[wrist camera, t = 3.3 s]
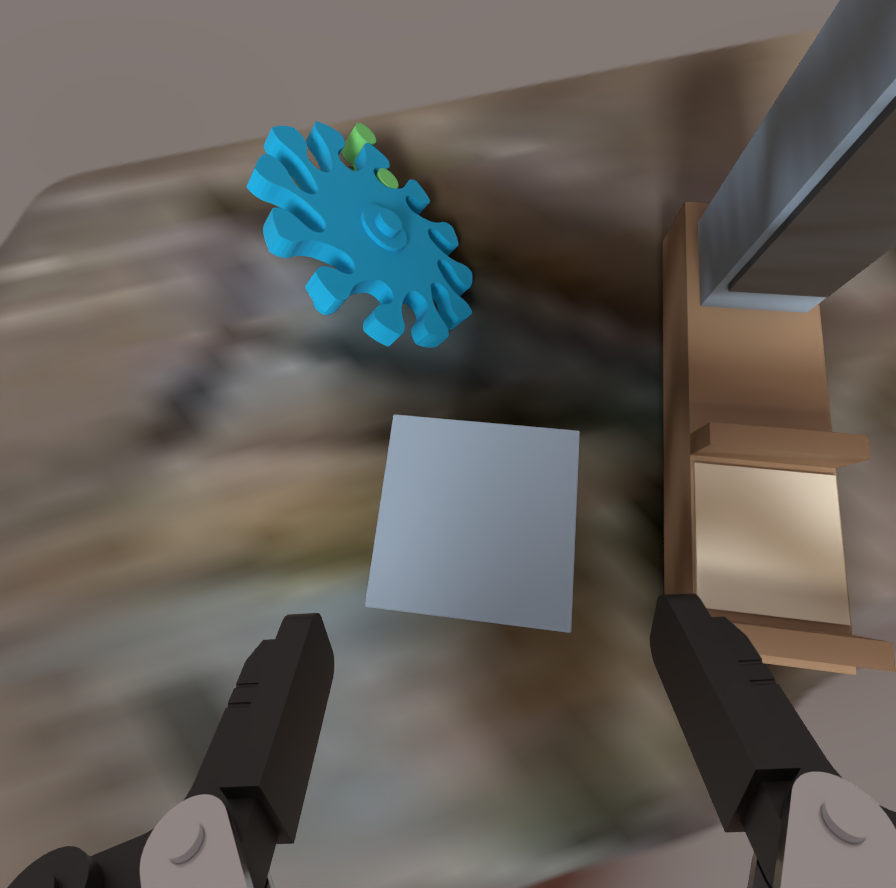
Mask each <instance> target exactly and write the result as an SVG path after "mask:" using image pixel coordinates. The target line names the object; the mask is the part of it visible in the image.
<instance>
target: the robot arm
mask: <svg viewBox="0 0 896 888" xmlns="http://www.w3.org/2000/svg"><path fill="white" fill-rule="evenodd" d="M650 647H651V653H652V657H653V661H654V664H655V666H656V669H657V671H658V674H659V676H660V678H661V681H662V683H663V685H664V688H665V690H666V693H667V695H668V697H669V700H670V702H671V704H672V707H673V709H674V712H675V714H676V716H677V719H678V721H679V724H680V726H681V728H682V731H683V733H684V735H685V738H686V740H687V743H688V745H689V747H690V750H691V752H692V754H693V757H694V759H695V762H696V764H697V766H698V769H699V771H700V774H701V776H702V778H703V781H704V783H705V785H706V788H707V790H708V793H709V795H710V797H711V800H712V802H713V804H714V807H715V809H716V812H717V814H718V816H719V819H720V821H721V823H722V826H723V828H724V831H725V832H746V835H747V837H748V839H749V841H750V843H751V846H752V848H753V850H754V854H753V857H752V863H751V870H750V875H749V881H748V887H747V888H896V812H894V811H891V810H888V809H886V808H884V807H882V806H880V805H878V804H877V803H876V802H875V801H874V800H873V799H872V798H871V797H870V796H868V795H867V794H866V793H865V792H864V791H862V790H861V789H860V788H858V787H857V786H855V785H853V784H852V783H850V782H849V781H847V780H845V779H843V778H842V777H841V776H840V775H839V774H838V773H837V771H836V770H835V769H834V768H833V767H832V765H831V764H830V763H829V761H828V760H827V759H826V757H825V755H824V754H823V752H822V751H821V749H820V748H819V746H818V745H817V743H816V741H815V740H814V738H813V737H812V735H811V734H810V732H809V731H808V730H807V728H806V726H805V724H804V723H803V721H802V720H801V718H800V717H799V715H798V714H797V712H796V711H795V709H794V707H793V706H792V704H791V703H790V701H789V700H788V698H787V697H786V695H785V694H784V692H783V691H782V689H781V687H780V686H779V684H776V682H775V678H774V677H773V675H772V674H771V672H770V671H769V669H768V667H767V666H766V664H763V662H762V658H761V657H760V655H759V654H758V652H757V650H756V649H755V647H754V646H753V644H752V643H751V641H750V640H749V638H748V637H747V635H745V634H744V633H743V632H742V631H741V630H740V629H738V628H737V627H736V626H735V625H734V624H733V623H732V622H730V621H729V620H728V619H727V618H726V617H725V616H723V617H711V615H710V614H709V612H708V610H707V609H706V607H705V605H704V604H703V602H702V600H701V599H700V598H699V596H698V595H696V594H695V593H684V594H667V595H660V596H659V597H658V600H657V605H656V610H655V615H654V620H653V625H652V630H651V635H650ZM333 674H334V655H333V650H332V647H331V644H330V641H329V638H328V635H327V632H326V630H325V627H324V624H323V621H322V618H321V616H320V614H319V613H309V614H291V615H287V616H285V618H284V619H283V621H282V623H281V626H280V628H279V631H278V634H277V636H276V639H271V640H263V641H262V642H261V643H260V644H259V646H258V647H257V648H256V649H255V650H254V652H253V653H252V654H251V655H250V656H249V658H248V659H247V660H246V662H245V664H244V667H243V669H242V671H241V674H240V676H239V678H238V681H237V683H236V688H234V690H233V692H232V695H231V697H230V699H229V702H228V707H227V708H226V709H225V711H224V714H223V716H222V718H221V721H220V723H219V725H218V728H217V730H216V732H215V735H214V737H213V739H212V742H211V744H210V746H209V749H208V751H207V753H206V756H205V758H204V760H203V763H202V765H201V767H200V770H199V772H198V774H197V777H196V779H195V782H194V784H193V786H192V788H191V790H190V791H189V793H188V794H187V796H186V798H185V799H184V800H183V801H182V802H181V803H179V804H178V805H176V806H175V807H174V808H172V809H171V810H170V811H169V812H168V813H167V814H166V815H165V816H164V817H163V818H162V819H161V820H160V821H159V823H158V824H157V825H156V827H155V828H154V829H152V830H151V831H149V832H147V833H145V834H143V835H141V836H139V837H136V838H134V839H131V840H129V841H127V842H124V843H122V844H119V845H117V846H114V847H112V848H110V849H107V850H105V851H102V852H100V853H97V854H95V855H93V856H89V855H87V854H86V853H85V852H84V851H83V850H81V849H80V848H77V847H73V846H67V847H62V848H58V849H56V850H53V851H51V852H49V853H47V854H45V855H43V856H42V857H40V858H39V859H37V860H36V861H34V862H33V863H32V864H31V865H29V866H28V867H27V868H26V869H25V870H24V871H22V872H21V873H20V874H19V875H18V876H17V877H16V878H15V880H14V881H13V882H12V883H11V884H10V885H9V886H8V888H275V886H274V883H273V880H272V876H271V873H270V871H269V869H270V865H271V861H272V857H273V853H274V850H275V846H276V844H292V843H294V840H295V836H296V832H297V828H298V824H299V819H300V815H301V811H302V807H303V802H304V798H305V794H306V790H307V786H308V781H309V777H310V773H311V769H312V764H313V760H314V756H315V752H316V748H317V743H318V739H319V735H320V731H321V727H322V722H323V718H324V714H325V710H326V705H327V701H328V697H329V693H330V689H331V684H332V680H333Z"/></svg>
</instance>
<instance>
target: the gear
mask: <svg viewBox="0 0 896 888" xmlns="http://www.w3.org/2000/svg"><path fill="white" fill-rule="evenodd" d="M306 143H307V146H308V148H309V150H310V151H311V152H312V154H313V155H314V157H315V158H316V160H317V162H318V164H319V166H320V169H321V170H319V169H317V168H316V167H315V166H314V165H313V164H312V163H311V162H310V161H309V159H308V157H307V146H306ZM375 143H376V138H375V136H374V134H373V133H372V131H371V130H370V129H369V128H368V127H366V126H365V125H363V124H361V123H357V124H356V125H355V127H354V128H353V130H352V132H351V133H350V135H349V137H348V138H347V140H346V142H345V141H344V139H343V137H342V135H341V134H340V133H339V132H338V131H336V130H335V129H333V128H331V127H329V126H327V125H325V124H322V123H320V122H317V121H316V122H315V124H314V126H313V128H312V130H311V132H310V134H309V136H308V138H307V140H306V142H305V140H304V138H303V137H302V135H301V134H300V133H299V132H298V131H297V130H296V129H295V128H292V127H288V126H277V127H272V129H271V131H270V133H269V135H268V138H267V140H266V142H265V144H264V149H265V151H266V154H264V155H262V156H261V157H260V158H259V160H258V162H257V164H256V166H255V168H254V170H253V172H252V175H251V177H250V179H249V181H248V184H247V188H248V189H249V191H250V192H251V193H253V194H254V195H255V196H256V197H258V198H259V199H261V200H263V201H266V202H269V203H272V204H274V205H276V206H279V207H281V208H282V209H281V208H273V209H272V211H271V213H270V214H269V216H268V218H267V220H266V222H265V224H264V228H263V233H264V238H265V241H266V244H267V247H268V249H269V252H271V253H272V254H274V255H276V256H279V257H283V258H289V257H293V256H308V257H312V258H316V259H318V260H321V261H323V262H325V263H328V264H330V265H332V266H334V267H335V268H336V269H333V268H331V267H326V266H322V267H319V268H318V269H317V270H316V271H315V273H314V274H313V276H312V277H311V278H310V280H309V281H308V283H307V284H306V286H305V288H306V290H307V292H308V293H309V295H310V296H311V298H312V299H313V304H314V307H315V308H316V310H317V311H319V312H320V313H322V314H324V315H330V314H331V313H334V312H336V311H337V310H338V309H339V307H340V306H341V305H342V304H343V303H344V301H345V300H346V299H347V298H348V297H349V295H351V294H356V293H369V294H371V295H373V296H374V297H375V298H376V299H377V300H378V301H379V302H380V304H381V305H379V306H377V307H376V308H375V309H374V310H373V311H372V313H371V314H370V315H369V316H368V317H367V318H366V319H365V320H364V322H363V330H364V331H365V332H366V333H367V334H368V335H369V336H370V337H372V338H373V339H375V340H376V341H378V342H380V343H382V344H384V345H386V346H390V345H391V344H392V343H393V342H394V341H395V340H396V339H398V338H399V337H400V336H401V335H402V334H403V332H404V330H405V324H404V321H403V317H402V303H405V304H407V305H408V306H410V307H411V308H412V310H413V311H414V313H415V315H416V322H415V323H414V325H413V327H412V329H411V335H412V338H413V340H414V342H415V343H416V344H417V345H420V346H423V347H429V348H432V347H437V346H438V345H440V344H441V343H442V342H443V341H444V340H446V339H447V338H448V337H449V331H448V330H452V329H454V328H456V327H457V326H458V325H459V324H460V323H462V322H463V321H464V320H465V319H466V318H468V317H469V316H470V315H471V314H472V310H471V308H470V307H469V305H468V304H467V303H466V302H465V301H464V300H463V299H462V298H461V297H460V296H461V295H462V294H463V293H464V292H465V291H466V290H468V289H469V288H470V286H471V285H472V272H471V271H470V269H469V268H468V267H466V266H465V265H463V264H461V263H458V262H456V261H454V260H453V259H451V258H450V257H448V255H449V254H450V253H451V252H452V251H453V250H454V249H455V248H456V247H457V246H458V240H457V236H456V234H455V232H454V229H453V227H452V226H451V225H450V224H448V223H446V222H440V223H435V222H431V221H428V220H426V219H424V218H422V217H421V216H419V214H420V213H421V212H422V211H423V210H424V208H425V207H426V206H427V205H428V204H429V203H430V200H429V198H428V196H427V194H426V193H425V191H424V190H423V189H422V187H421V186H420V185H419V184H418V182H417V181H415V180H412V179H411V180H409V181H408V182H407V183H406V185H405V186H404V187H403V188H401V189H397V188H398V181H397V179H396V178H395V176H394V175H393V174H392V173H391V172H390V171H388V170H387V169H388V168H389V166H390V163H389V160H388V159H387V158H386V157H385V156H384V155H383V154H382V153H381V152H380V151H378V150H377V149H376V148H375V147H373V146H374V144H375ZM341 152H342V154H343V156H344V158H345V159H346V160H347V161H348V162H349V163H350V164H352V166H353V167H351V166H348V167H346V166H345V165H344V164H343V163H342V162H341V160H340V158H339V154H340V153H341ZM290 176H291V177H292V178H293V179H294V180H295V182H296V183H297V184H298V186H299V187H300V188H298V187H297V186H296V185H295V183H294V182H293V180H292V179H291V177H290ZM432 298H433V299H434V300H435V302H436V304H437V307H438V312H437V310H436V308H435V305H434V302H433V299H432Z"/></svg>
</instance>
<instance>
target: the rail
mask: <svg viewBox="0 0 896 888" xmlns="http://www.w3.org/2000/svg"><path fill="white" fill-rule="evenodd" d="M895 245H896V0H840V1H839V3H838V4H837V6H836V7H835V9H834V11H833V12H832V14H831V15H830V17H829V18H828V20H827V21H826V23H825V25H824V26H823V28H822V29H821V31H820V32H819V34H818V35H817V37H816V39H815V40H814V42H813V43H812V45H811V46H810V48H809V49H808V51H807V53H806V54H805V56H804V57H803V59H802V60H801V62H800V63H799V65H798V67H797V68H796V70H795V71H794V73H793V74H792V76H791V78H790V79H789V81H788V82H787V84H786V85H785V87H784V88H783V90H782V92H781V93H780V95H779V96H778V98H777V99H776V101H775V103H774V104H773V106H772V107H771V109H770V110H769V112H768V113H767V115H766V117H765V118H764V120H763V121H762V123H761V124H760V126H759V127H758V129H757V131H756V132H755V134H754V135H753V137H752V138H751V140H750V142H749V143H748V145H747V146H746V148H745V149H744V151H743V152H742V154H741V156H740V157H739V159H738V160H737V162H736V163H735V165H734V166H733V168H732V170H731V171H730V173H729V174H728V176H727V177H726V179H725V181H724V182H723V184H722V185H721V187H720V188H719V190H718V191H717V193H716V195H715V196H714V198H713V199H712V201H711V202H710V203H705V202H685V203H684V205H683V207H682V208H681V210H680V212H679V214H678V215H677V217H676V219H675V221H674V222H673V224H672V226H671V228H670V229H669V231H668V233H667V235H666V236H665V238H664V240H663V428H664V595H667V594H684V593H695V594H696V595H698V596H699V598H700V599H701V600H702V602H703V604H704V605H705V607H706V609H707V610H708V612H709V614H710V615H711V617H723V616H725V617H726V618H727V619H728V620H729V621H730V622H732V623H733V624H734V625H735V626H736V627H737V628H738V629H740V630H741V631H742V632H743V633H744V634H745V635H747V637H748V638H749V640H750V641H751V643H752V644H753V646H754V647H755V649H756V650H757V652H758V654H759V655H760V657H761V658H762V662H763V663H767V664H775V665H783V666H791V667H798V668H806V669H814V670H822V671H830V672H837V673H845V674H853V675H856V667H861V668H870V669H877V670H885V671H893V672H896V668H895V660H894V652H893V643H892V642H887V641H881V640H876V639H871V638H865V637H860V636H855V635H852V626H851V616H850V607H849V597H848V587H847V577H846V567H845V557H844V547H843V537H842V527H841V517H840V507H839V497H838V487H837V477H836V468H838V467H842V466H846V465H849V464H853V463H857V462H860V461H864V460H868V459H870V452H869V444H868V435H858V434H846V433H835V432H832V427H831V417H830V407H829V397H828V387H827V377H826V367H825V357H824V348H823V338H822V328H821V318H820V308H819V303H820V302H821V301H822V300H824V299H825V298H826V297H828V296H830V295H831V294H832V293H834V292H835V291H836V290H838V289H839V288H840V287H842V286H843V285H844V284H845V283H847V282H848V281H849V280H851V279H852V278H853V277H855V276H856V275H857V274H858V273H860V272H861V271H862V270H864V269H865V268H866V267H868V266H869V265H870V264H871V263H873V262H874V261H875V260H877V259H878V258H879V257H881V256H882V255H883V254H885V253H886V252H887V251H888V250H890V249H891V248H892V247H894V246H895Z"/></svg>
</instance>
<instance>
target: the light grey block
mask: <svg viewBox="0 0 896 888" xmlns="http://www.w3.org/2000/svg"><path fill="white" fill-rule="evenodd" d="M579 434H580V431H575V430H563V429H552V428H541V427H529V426H518V425H507V424H495V423H484V422H473V421H461V420H450V419H439V418H427V417H416V416H405V415H393V422H392V429H391V435H390V442H389V449H388V455H387V462H386V469H385V475H384V482H383V489H382V495H381V502H380V509H379V516H378V522H377V529H376V536H375V542H374V549H373V556H372V562H371V569H370V576H369V583H368V589H367V596H366V603H365V607H372V608H380V609H388V610H396V611H404V612H412V613H419V614H427V615H435V616H443V617H451V618H459V619H467V620H474V621H482V622H490V623H498V624H506V625H514V626H522V627H529V628H537V629H545V630H553V631H561V632H569V633H571V621H572V598H573V574H574V551H575V527H576V504H577V481H578V457H579Z"/></svg>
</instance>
